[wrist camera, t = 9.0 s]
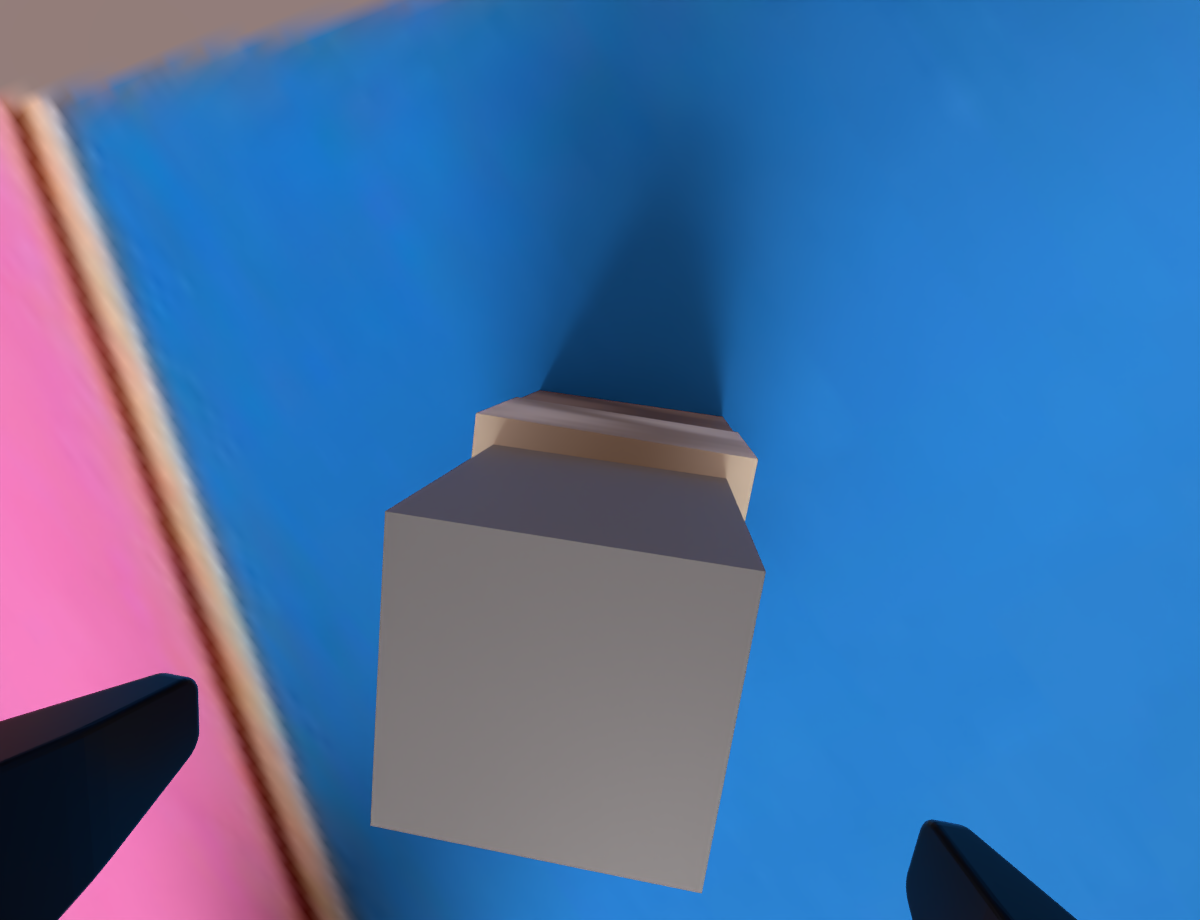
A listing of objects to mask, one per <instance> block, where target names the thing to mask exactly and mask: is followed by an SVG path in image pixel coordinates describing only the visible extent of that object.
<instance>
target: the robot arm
mask: <svg viewBox="0 0 1200 920" xmlns="http://www.w3.org/2000/svg"><path fill="white" fill-rule="evenodd" d="M198 737H199V707H198V686H197V684H196V682H195V681H194V680H193V679H191V678H189V677H184V676H179V675H173V674H168V673H159V674H155V675H152V676H148V677H145V678H142V679H138V680H135V681H132V682H129V683H125V684H122V685H119V686H115V687H112V688H109V689H105V690H102V691H99V692H96V693H92V694H89V695H86V696H82V697H79V698H76V699H72V700H69V701H66V702H63V703H59V704H56V705H53V706H49V707H46V708H43V709H40V710H36V711H33V712H30V713H26V714H23V715H20V716H16V717H13V718H10V719H7V720H3V721H0V920H58V919H59V918H60V917H61V916H62V915H63V914H64V913H65V912H66V910H67V909H68V908H69V907H70V906H71V905H72V904H73V903H74V902H75V900H76V899H77V898H78V897H79V896H80V895H81V893H82V892H83V891H84V890H85V889H86V888H87V887H88V885H89V884H90V883H91V882H92V881H93V880H94V879H95V877H96V876H97V875H98V874H99V872H100V871H101V870H102V869H103V867H104V866H105V865H106V864H107V862H108V861H109V860H110V859H111V858H112V856H113V855H114V854H115V852H116V851H117V850H118V849H119V847H120V846H121V845H122V843H123V842H124V841H125V840H126V838H127V837H128V836H129V834H130V833H131V832H132V831H133V829H134V828H135V827H136V825H137V824H138V823H139V822H140V820H141V819H142V818H143V816H144V815H145V814H146V813H147V811H148V810H149V809H150V807H151V806H152V805H153V803H154V802H155V801H156V800H157V798H158V797H159V796H160V794H161V793H162V792H163V791H164V789H165V788H166V787H167V785H168V784H169V783H170V782H171V780H172V779H173V778H174V776H175V775H176V774H177V773H178V771H179V770H180V769H181V767H182V766H183V765H184V764H185V762H186V761H187V760H188V758H189V757H190V755H191V754H192V752H193V750H194V749H195V746H196V744H197V741H198ZM906 893H907V900H908V904H909V908H910V912H911V916H912V920H1077V919H1076V918H1074V917H1073V916H1072V915H1071V914H1070V913H1069V912H1067V911H1066V910H1065V909H1064V908H1063V907H1061V906H1060V905H1059V904H1058V903H1057V902H1055V901H1054V900H1053V899H1052V898H1051V897H1049V896H1048V895H1047V894H1046V893H1045V892H1044V891H1042V890H1041V889H1040V888H1039V887H1038V886H1036V885H1035V884H1034V883H1033V882H1032V881H1030V880H1029V879H1028V878H1027V877H1026V876H1024V875H1023V874H1022V873H1021V872H1020V871H1019V870H1017V869H1016V868H1015V867H1014V866H1013V865H1011V864H1010V863H1009V862H1008V861H1007V860H1005V859H1004V858H1003V857H1002V856H1001V855H1000V854H998V853H997V852H996V851H995V850H994V849H992V848H991V847H990V846H989V845H988V844H986V843H985V842H984V841H983V840H982V839H980V838H979V837H978V836H977V835H976V834H975V833H973V832H972V831H971V830H970V829H968V828H967V827H965V826H962V825H959V824H954V823H948V822H943V821H938V820H928V821H926V822H925V823H924V824H923V825H922V827H921V830H920V833H919V836H918V839H917V843H916V846H915V850H914V853H913V856H912V860H911V863H910V866H909V870H908V873H907V879H906Z"/></svg>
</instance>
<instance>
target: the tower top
mask: <svg viewBox="0 0 1200 920" xmlns="http://www.w3.org/2000/svg"><path fill="white" fill-rule="evenodd" d="M493 444H494V445H501V446H508V447H515V448H522V449H528V450H535V451H542V452H549V453H556V454H563V455H570V456H576V457H583V458H590V459H597V460H604V461H611V462H617V463H624V464H631V465H638V466H645V467H652V468H658V469H665V470H672V471H679V472H686V473H693V474H699V475H706V476H713V477H720V478H726V479H727V481H728V483H729V486H730V488H731V491H732V493H733V495H734V498H735V500H736V502H737V505H738V507H739V510H740V512H741V514H742V517H743V519H744V521H745V519H746V514H747V509H748V504H749V499H750V495H751V490H752V485H753V480H754V475H755V471H756V466H757V461H758V459H757V457H756V456H755V455H754V453H753V452H752V451H751V449H750V448H749V447H748V445H747V444H746V443H745V441H744V440H743V439H742V437H741V436H740V435H739V433H738V432H731V431H725V430H719V429H713V428H706V427H700V426H694V425H688V424H681V423H675V422H669V421H663V420H656V419H650V418H644V417H638V416H631V415H625V414H619V413H613V412H606V411H600V410H594V409H588V408H581V407H575V406H569V405H563V404H556V403H550V402H544V401H537V400H531V399H525V398H519V397H516V398H513V399H511V400H508V401H506V402H503V403H501V404H498V405H496V406H493V407H491V408H488V409H485V410H483V411H480V412H478V413H476V419H475V429H474V439H473V449H472V457H474V456H475V455H477V454H479V453H480V452H482V451H483V450H485V449H487V448H488V447H490V446H492V445H493Z"/></svg>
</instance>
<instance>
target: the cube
mask: <svg viewBox="0 0 1200 920" xmlns="http://www.w3.org/2000/svg"><path fill="white" fill-rule="evenodd" d="M765 573H766V571H765V569H764V566H763V564H762V562H761V559H760V557H759V555H758V552H757V550H756V548H755V545H754V543H753V540H752V538H751V536H750V533H749V531H748V529H747V526H746V524H745V521H744V519H743V517H742V514H741V512H740V510H739V507H738V505H737V502H736V500H735V498H734V495H733V493H732V491H731V488H730V486H729V483H728V481H727V479H726V478H720V477H713V476H706V475H699V474H693V473H686V472H679V471H672V470H665V469H658V468H652V467H645V466H638V465H631V464H624V463H617V462H611V461H604V460H597V459H590V458H583V457H576V456H570V455H563V454H556V453H549V452H542V451H535V450H528V449H522V448H515V447H508V446H501V445H494V444H493V445H492V446H490V447H488V448H487V449H485V450H483V451H482V452H480V453H479V454H477V455H475V456H474V457H472V458H471V459H469V460H467V461H466V462H464V463H463V464H461V465H459V466H458V467H456V468H454V469H453V470H451V471H450V472H448V473H446V474H445V475H443V476H442V477H440V478H438V479H437V480H435V481H433V482H432V483H430V484H429V485H427V486H425V487H424V488H422V489H421V490H419V491H417V492H416V493H414V494H412V495H411V496H409V497H408V498H406V499H404V500H403V501H401V502H400V503H398V504H396V505H395V506H393V507H392V508H390V509H388V510H387V511H385V527H384V548H383V569H382V591H381V612H380V634H379V655H378V676H377V698H376V719H375V741H374V762H373V783H372V805H371V826H375V827H380V828H385V829H390V830H394V831H399V832H404V833H409V834H414V835H419V836H424V837H429V838H434V839H438V840H443V841H448V842H453V843H458V844H463V845H468V846H473V847H478V848H482V849H487V850H492V851H497V852H502V853H507V854H512V855H517V856H522V857H527V858H531V859H536V860H541V861H546V862H551V863H556V864H561V865H566V866H571V867H575V868H580V869H585V870H590V871H595V872H600V873H605V874H610V875H615V876H619V877H624V878H629V879H634V880H639V881H644V882H649V883H654V884H659V885H663V886H668V887H673V888H678V889H683V890H688V891H693V892H698V893H702V889H703V884H704V879H705V874H706V869H707V864H708V859H709V854H710V849H711V843H712V838H713V833H714V828H715V823H716V818H717V813H718V808H719V803H720V798H721V793H722V788H723V783H724V778H725V773H726V768H727V763H728V758H729V753H730V748H731V743H732V738H733V733H734V728H735V723H736V718H737V713H738V708H739V703H740V698H741V693H742V688H743V683H744V678H745V673H746V668H747V663H748V658H749V653H750V648H751V643H752V638H753V633H754V628H755V623H756V618H757V613H758V608H759V603H760V598H761V593H762V588H763V583H764V578H765Z"/></svg>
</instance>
